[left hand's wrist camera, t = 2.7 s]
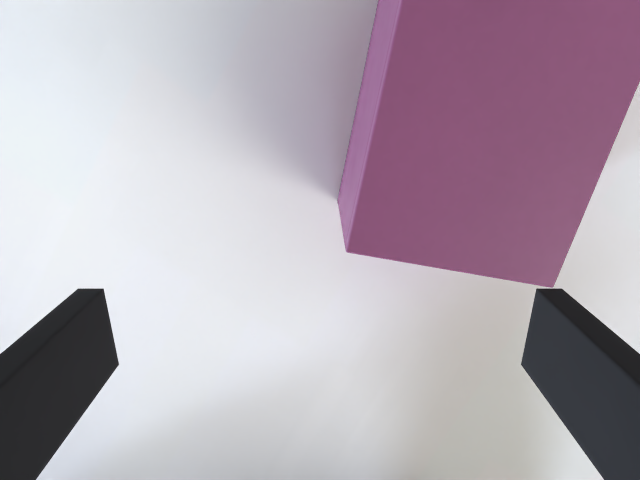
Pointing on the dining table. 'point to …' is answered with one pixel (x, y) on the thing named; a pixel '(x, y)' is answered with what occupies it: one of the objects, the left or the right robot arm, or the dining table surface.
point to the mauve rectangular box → (486, 130)
